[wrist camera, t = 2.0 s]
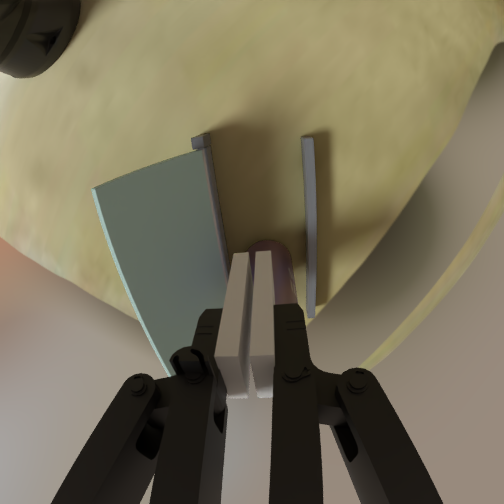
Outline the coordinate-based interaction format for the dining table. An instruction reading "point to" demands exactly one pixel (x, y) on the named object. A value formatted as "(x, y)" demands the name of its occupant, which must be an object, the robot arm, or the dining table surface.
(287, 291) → the beverage can
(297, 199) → the dining table surface
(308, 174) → the plastic rails
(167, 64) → the dining table surface
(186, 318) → the cover
